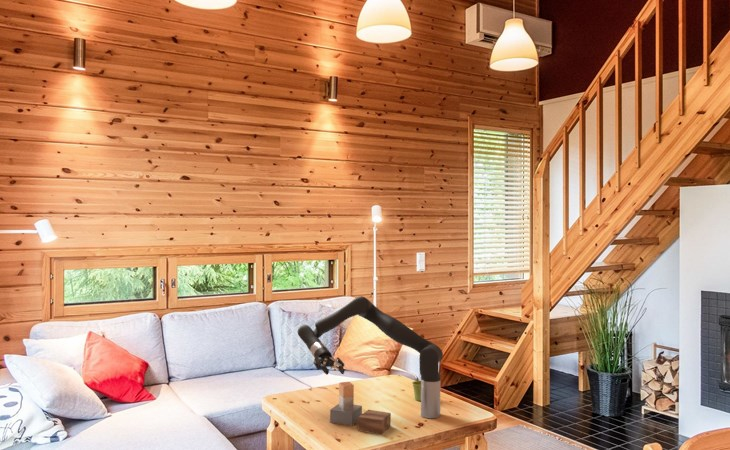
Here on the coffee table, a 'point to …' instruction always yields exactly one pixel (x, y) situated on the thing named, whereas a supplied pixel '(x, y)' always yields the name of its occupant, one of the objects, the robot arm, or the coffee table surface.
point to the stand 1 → (345, 415)
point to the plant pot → (417, 390)
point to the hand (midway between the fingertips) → (335, 372)
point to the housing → (346, 395)
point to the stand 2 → (374, 421)
